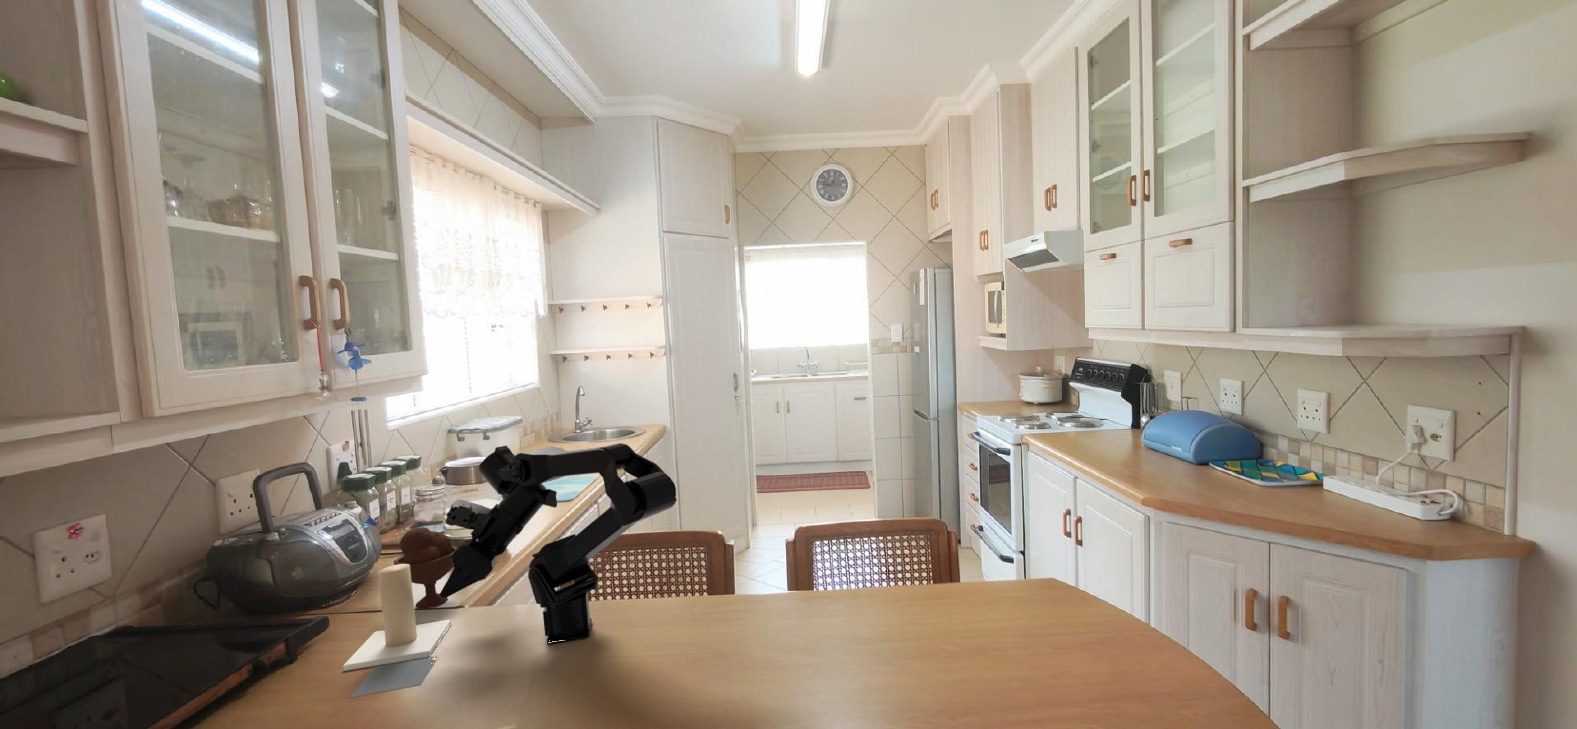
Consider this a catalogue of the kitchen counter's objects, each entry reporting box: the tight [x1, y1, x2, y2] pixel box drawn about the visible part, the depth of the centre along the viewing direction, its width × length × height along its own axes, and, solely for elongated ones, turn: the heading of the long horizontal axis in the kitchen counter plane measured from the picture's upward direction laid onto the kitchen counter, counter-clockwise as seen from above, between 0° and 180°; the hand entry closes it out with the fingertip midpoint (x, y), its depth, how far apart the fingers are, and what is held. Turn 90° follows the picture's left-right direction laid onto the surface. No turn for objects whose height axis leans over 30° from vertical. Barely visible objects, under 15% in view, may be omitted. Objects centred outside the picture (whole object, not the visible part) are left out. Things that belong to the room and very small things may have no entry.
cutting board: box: [343, 618, 453, 672], centre depth 104 cm, size 12×12×1 cm
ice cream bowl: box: [393, 526, 459, 610], centre depth 122 cm, size 11×11×15 cm
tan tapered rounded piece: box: [377, 564, 417, 647], centre depth 104 cm, size 4×4×12 cm
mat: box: [349, 655, 438, 699], centre depth 94 cm, size 9×9×1 cm
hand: (450, 586), depth 105 cm, fingers open, 9 cm apart
